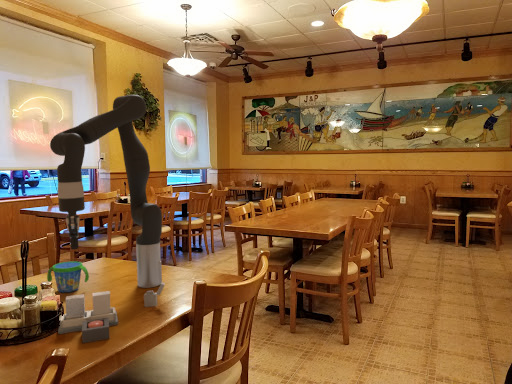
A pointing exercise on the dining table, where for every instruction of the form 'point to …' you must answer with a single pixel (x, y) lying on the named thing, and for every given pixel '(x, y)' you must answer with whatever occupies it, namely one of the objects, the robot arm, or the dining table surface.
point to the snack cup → (67, 275)
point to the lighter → (152, 296)
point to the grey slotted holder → (91, 314)
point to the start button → (95, 324)
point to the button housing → (95, 331)
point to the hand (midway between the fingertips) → (74, 248)
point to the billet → (75, 307)
